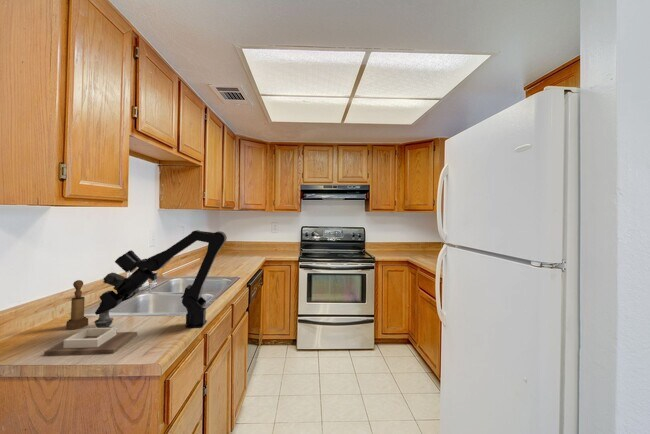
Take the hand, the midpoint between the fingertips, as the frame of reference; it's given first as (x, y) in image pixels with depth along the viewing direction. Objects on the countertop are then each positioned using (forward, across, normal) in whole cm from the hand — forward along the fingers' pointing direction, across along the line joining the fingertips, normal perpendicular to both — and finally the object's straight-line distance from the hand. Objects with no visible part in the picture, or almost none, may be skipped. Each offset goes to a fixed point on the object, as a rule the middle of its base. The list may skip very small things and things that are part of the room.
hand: (103, 309), depth 109 cm
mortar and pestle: (+14, -5, -2) cm, 15 cm away
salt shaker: (+5, 0, +6) cm, 8 cm away
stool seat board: (+2, +13, +8) cm, 16 cm away
